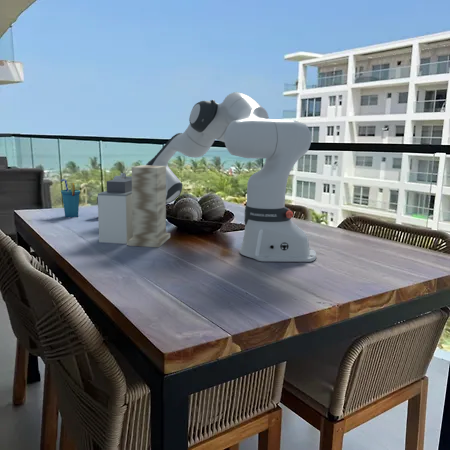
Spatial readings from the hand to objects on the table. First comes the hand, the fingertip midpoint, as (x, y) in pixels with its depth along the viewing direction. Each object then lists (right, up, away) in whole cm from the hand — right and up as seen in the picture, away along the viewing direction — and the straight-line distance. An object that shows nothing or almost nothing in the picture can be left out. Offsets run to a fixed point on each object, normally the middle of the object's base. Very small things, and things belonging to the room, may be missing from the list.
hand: (135, 175), depth 161 cm
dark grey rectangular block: (-1, -6, -10) cm, 11 cm away
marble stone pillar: (+8, -23, -15) cm, 29 cm away
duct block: (-2, -22, -12) cm, 25 cm away
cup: (-31, -14, +24) cm, 42 cm away
